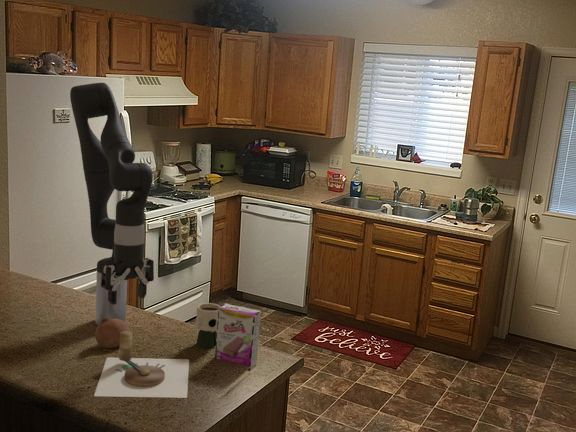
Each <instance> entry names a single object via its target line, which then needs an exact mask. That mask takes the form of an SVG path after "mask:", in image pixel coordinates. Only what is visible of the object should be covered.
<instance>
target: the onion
mask: <svg viewBox="0 0 576 432" xmlns="http://www.w3.org/2000/svg"><path fill="white" fill-rule="evenodd" d="M96 326H97V325H96ZM124 331H129V332H130V328H129V326H128V324H127V323H125V322H124V321H123V320H121V319H111V318H103V320H102V322H101V323H100V324H99V325H98V326H97V327H96V328H95V333H94V338H95V340H96V343H97V345H98V346H100V347H101V348H102V349H106V348H109V349H113V348H119V345H120V333H121V332H124Z"/></svg>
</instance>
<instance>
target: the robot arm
mask: <svg viewBox="0 0 576 432" xmlns="http://www.w3.org/2000/svg"><path fill="white" fill-rule="evenodd" d="M69 92H70V93H69V96H70V97H69V98H70V103H71V109H72V113H73V119H74V122H75V127H76V130H77V135H78V139H79V145H80V152H81V161H82V168H83V169H82V170H83V175H84V180H85V185H86V186H85V187H86V190H87V197H88V198H87V199H88V203H89V204H88V205H89V217H90V220H89V221H90V234H91V235H90V236H91V239H92V242H93V244H94V245H95V246H96V247H98V248H100V249H106V250H111V251H112V253H111V256H109V257H105V258H102V259H100V260H98V261H97V263H96V286H95V287H96V288H95V289H96V290H95V317H94V318H95V321H94V323H95V325H96V326H98V325H99V324H100V323H101V322H102V320H103V318H111V319H121V320H123V321H124V322H125V323H126V321H127V320H126V319H127V318H126V317H127V299H128V298H127V296H128V295H127V292H128V280H131V279H133V280H134V279H137V281H138V282H139V283H138V286H137V287H138V288H137V289H138V290H137V292H138V293H137V296H138V298H140V299H145V298H146V296H147V290H148V289H147V288H148V284H149V283H150V282H154V279H155V272H154V268H155V267H154V265H155V264H154V260H153V259H151V258H148V257H145V259H144V255H145V208H146V204H147V201H148V197H149V194H150V191H151V189H152V185H153V180H154V174H153V171H152V168H151V167H150V165H149V164H147V163H145V162H134V161H135V159H136V152H135V150H134V148H133V146H132V144H131V143H130V140H129V138H128V137H127V135H126V131H125V129H124V127H123V126H124V125H123V123H122V118H121V115H120V112H119V108H118V106H117V102H116V99H115V97H114V94H113V91H112V89H111V88H110V86H109V85H108V84H107V83H105V82H94V83H93V82H92V83H88V84H80V85H75V86H72V87H71V88H70V91H69ZM104 116H107V117H106V122H105V125H104V127H103V128H102V132H101V135H100V139H99V138H98V137H97V136H96V134H95V133H94V131H93V130H92V128H91V126H90V123H89V119H93V118H100V117H104ZM115 190H116V191H118V192H133V193H132V194H131V196H129V197H127V198H125V199H120V200H119V201H117V203H116V206H115V219H112V218H110V217H109V214H108V202H109V200H110V198H111V196H112V194H113V192H115ZM143 267H144V273H143V272H142V269H143ZM126 324H127V323H126Z"/></svg>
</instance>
